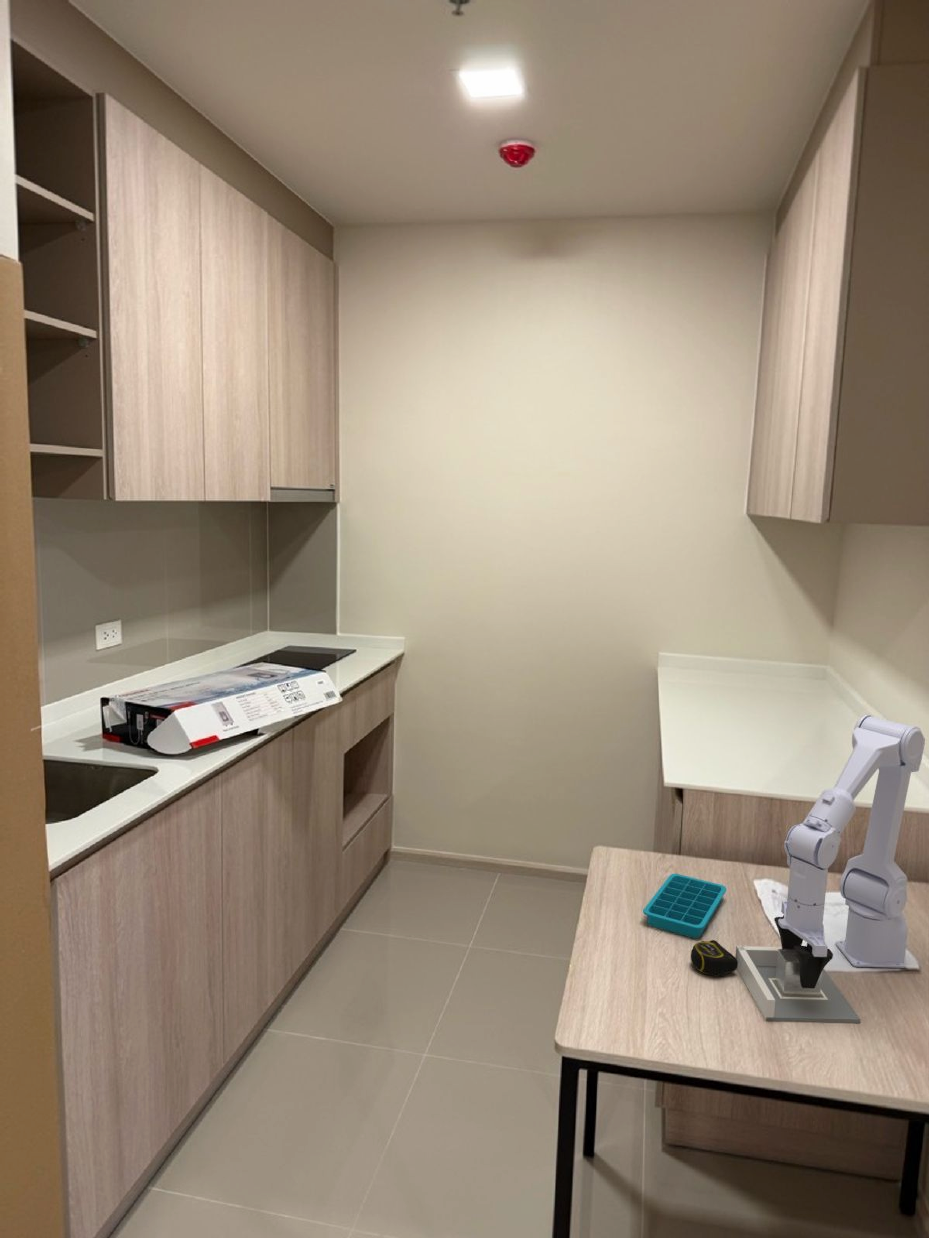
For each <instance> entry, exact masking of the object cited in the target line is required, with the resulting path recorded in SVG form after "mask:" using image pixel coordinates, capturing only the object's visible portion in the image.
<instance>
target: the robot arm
mask: <svg viewBox="0 0 929 1238" xmlns="http://www.w3.org/2000/svg"><path fill="white" fill-rule="evenodd" d="M925 741H926V739H925V736H924V734H923V733H922V730H921V728H920V727H918V726H916V725H908V724H904V723H900V722H896V721H893V720H888V719H884V718H880V717H875V716H873V715H871V714H864V715H862V716H861V717H860V718H859V719H858V720H857V721H856V723H855V726H854V728H853V731H852V737H851V745H852V750H851V751H852V752H851V753H850V755H849V757H848V759H847V761H846V763H845V765H844V767H843V768H842V771H841V773H840V775H839V777H838V779H837V781H836V782H835V784H834V786H833V787H832V788H827V789H824V790H823V791H822V792H821V794H820V795H819V797H818V799H817V800H816V801H815V803H814V805H813V807H812V808H811V809H810V811H809V812H808V814H807V816H806V817H805V818H804V821H802V823H799V824H795V825H793V826H792V827H790V829H789V830H788V833H787V835H786V838H785V841H784V842H783V843H784V844H783V845H784V846H783V847H784V852H785V854H786V856H787V858H786V859H787V860H786V864H787V866H788V868H789V875H788V876H789V879H788V885H787V886H788V888H787V898H786V899H787V900H786V901H785V900H782V902H781V913H782V914H783V915H782V916H775V917H774V919H773V920H774V923H775V925H776V927H777V931H778V934H779V938H780V939H779V940H780V943H781V945H780V946H781V947H782V949H795V951H796V954H797V957H798V961H799V969H800V983H801V986H802V988H815V986H816V984H817V982H818V979H819V977H820V974H821V972H822V970H823V969H824V970H825V967H826V966H827V965H828V963H829V962H830V961H832V959H833V957H834V956H833V955H834V954H833V952H832V950H831V949H830V948H829V946H828V944H827V942H826V938H825V937H826V936H825V927H824V913H825V903H826V895H827V894H826V893H827V883H828V874H829V873H828V872H829V871H828V870H829V868H830V866H831V865H832V864H833V863H834V862H835V860H836V859H837V855H838V852H839V847H840V845H841V843H842V837H841V835H842V834H843V832H844V830H845V829H846V827H847V825H848V824H849V822H850V821H851V819H852V818H853V816H854V814H855V813H856V811H857V808H856V803H855V801H854V800H855V799H856V797H858V795H859V794H860V793H861V792H862V790H863V789H864V788H865V786H866V785H867V784H868V782H869V781H870V780H871V778H872V777H873V775H874V774H875V773H876V772H877V771H878V773H877V774H878V775H877V780H876V784H875V789H874V794H873V800H872V804H871V805H872V806H871V810H870V816H869V821H868V825H867V828H866V829H867V830H866V835H865V840H864V846H863V848H862V849H863V850H862V854H859V855H855V856H853V857H850V858H849V859H848V860H847V863H846V866H845V869H844V871H843V872H842V875H841V877H840V880H839V891H840V896H841V897H842V898H843V899H844V900H845V903H844V905H845V906H848V909H847V910H848V911H847V920H846V922H847V923H846V928H845V929H846V931H845V940H836V941H835V945H836V946H837V947H838V949H839V950H840V951H841V952H842V954H843V955H844V957H846V959H847V960H848V961H849V963H850V964H851V965H852V966H853V967H857V968H858V967H860V968H861V967H862V968H896V969H897V968H904V969H905V968H907V964H906V962H905V959H906V950H907V942H908V936H909V934H908V933H909V932H908V930H909V929H908V923H907V920H906V917H905V916H904V914H903V911H904V909H905V907H906V904H907V900H908V893H907V885H908V877H907V875H906V873H904V871H903V870H902V869H901V868H900V867H899V865H898V864H897V862H896V861H895V855H896V852H897V851H896V849H897V846H898V845H897V844H898V840H899V836H900V835H899V834H900V829H901V826H902V819H903V815H904V810H905V806H906V805H905V804H906V800H907V795H908V790H909V785H910V779H911V775H912V773H915V772H919V770H920V766H921V763H922V759H923V753H924V749H925V744H926V743H925ZM803 941H805V942H806V945H802V944H803Z"/></svg>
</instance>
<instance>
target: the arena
mask: <svg viewBox="0 0 929 1238" xmlns="http://www.w3.org/2000/svg"><path fill="white" fill-rule="evenodd" d="M778 949H782V946H756V945H753V946H752V945H751V946H750V945H749V946H748V945H736V948H735V956H734V957H735V958H736V959H737V961H738V966H737V969H736V970H737V972H738V973H739V975H740V977H741V979H742V981H743V983H744V984H745V986H746V988H747V989H748V992H749V993H750V995H751V997H752V999H753V1000H754V1002H755V1004H756V1005H757V1007H758V1010H759V1011H760V1013H761V1014H762V1017H763V1018H764V1020H765V1021H767V1022H772V1021H773V1022H799V1023H800V1022H803V1023H805V1022H806V1023H808V1022H809V1023H810V1022H811V1023H840V1024H841V1023H847V1024H851V1023H852V1024H853V1023H854V1024H861V1020H862V1019H861V1018H860V1017H859V1015H858V1014H857V1012H856V1011H855V1010H854V1009H853V1006H851V1004H850V1003H849V1001H848V1000H847V999H846V997H845V995H843V993H842V992H841V990H840V989H839V988H838V987H837V985H836V984H835V982H834V981H833V980H832V978H831V977H830V976H829V974H828V972H827V971H826V970H825V968H824V969H823V970H822V980H821V990H820V997H817V996H783V994H782V992H781V991H780V989H779V987H778V986H777V984H776V982H775V978H776V967H777V956H778Z"/></svg>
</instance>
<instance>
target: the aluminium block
mask: <svg viewBox="0 0 929 1238" xmlns="http://www.w3.org/2000/svg"><path fill="white" fill-rule="evenodd" d="M821 980H822V972H821V974H820V977H819V979H818V982H817V984H816V986H815V988H802V986H801V983H800V969H799V961H798V957H797V954H796V951H795V949H778V956H777V967H776V978H775V982H776V984H777V986H778V987H779V989H780V991H781V992H782V994H783V996H817V997H820V990H821Z"/></svg>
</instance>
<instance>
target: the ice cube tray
mask: <svg viewBox="0 0 929 1238" xmlns="http://www.w3.org/2000/svg"><path fill="white" fill-rule="evenodd" d="M726 892H727V887H726V886H725V885H723V884H719V883H715V882H712V881H708V880H703V879H700V878H696V877H691V876H688V875H683V874H679V873H672V874H669V876H668V877H667V878H666V880H665V881H664V882H663V883H662V884H661V886H660V887H659V888H658V890H657V892H656V893H654V895H653V896H652V897H651V899H650V900H649V901H648V902H647V904H646V905H645V907H644V908H643V909H642V912H643V914H644V915H646V916H647V925H649V926H650V927H653V928H657V929H660V930H664V931H667V932H671V933H675V934H679V935H681V936H685V937H688V938H692V939H697V938H700V937H701V935H702V933H703V932H704V931H705V929H706V927H707V925H708V923H709V922H710V920H711V919H712V917H713V915H714V913H715V912H716V910H717V908H718V907H719V905H720V903H721V900H722V899H723V897H724V895H725V893H726Z"/></svg>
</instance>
